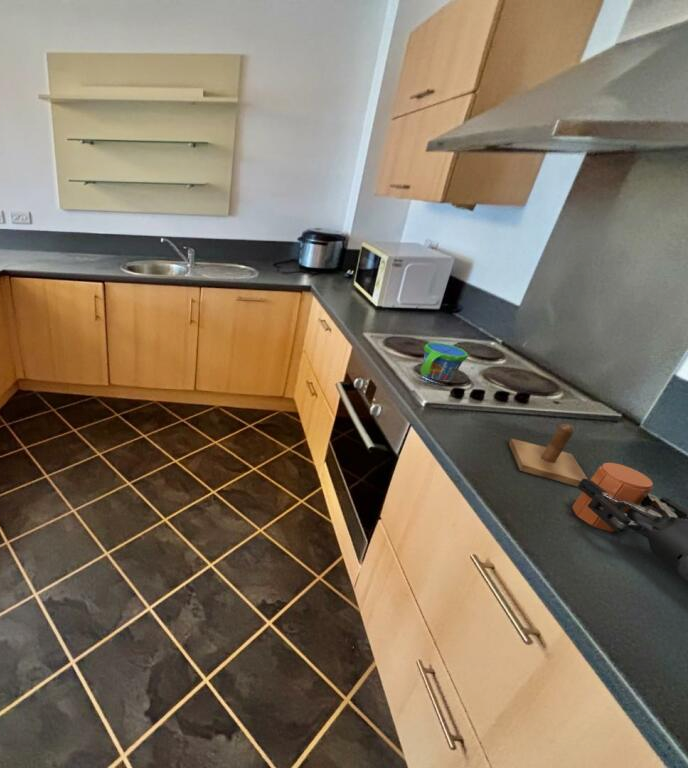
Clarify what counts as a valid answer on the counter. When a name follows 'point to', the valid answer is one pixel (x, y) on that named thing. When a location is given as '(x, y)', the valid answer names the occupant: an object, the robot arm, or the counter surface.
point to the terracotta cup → (613, 491)
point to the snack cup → (441, 361)
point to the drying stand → (549, 458)
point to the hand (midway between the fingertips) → (601, 483)
